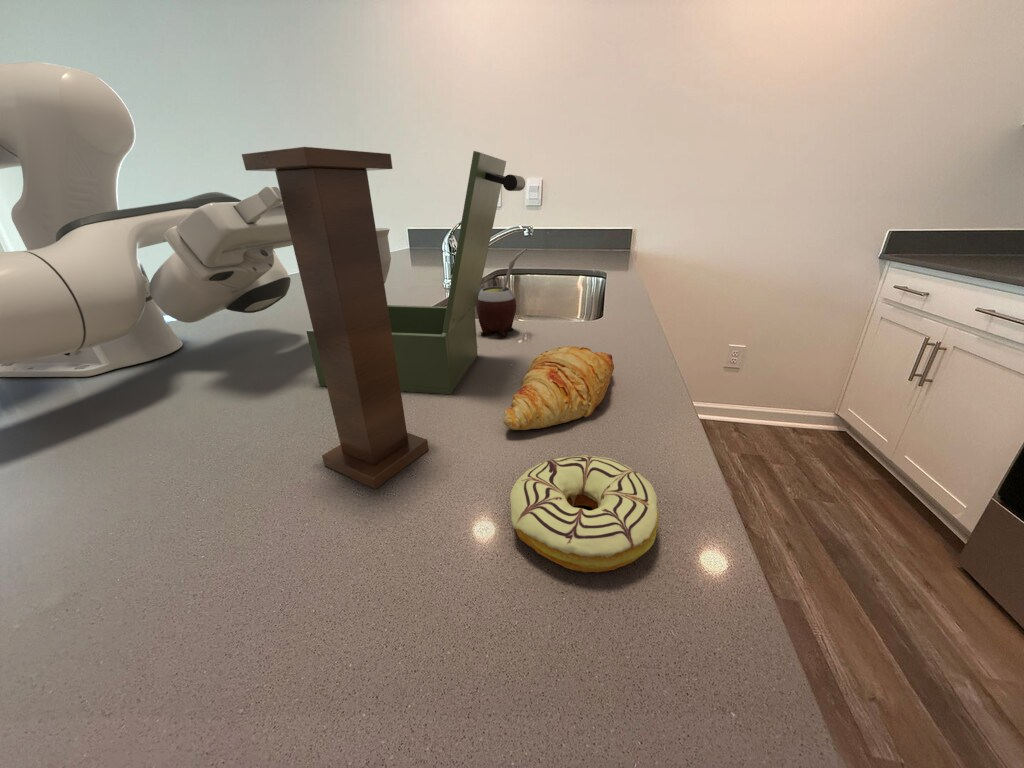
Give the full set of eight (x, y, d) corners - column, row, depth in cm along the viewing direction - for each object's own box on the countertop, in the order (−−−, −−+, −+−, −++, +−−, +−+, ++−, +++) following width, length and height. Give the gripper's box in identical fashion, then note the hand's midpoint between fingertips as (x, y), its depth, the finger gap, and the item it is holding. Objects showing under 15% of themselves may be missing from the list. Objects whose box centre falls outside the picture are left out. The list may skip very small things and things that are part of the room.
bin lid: (473, 150, 40) (515, 161, 39) (501, 159, 52) (533, 168, 51) (442, 332, 48) (476, 342, 48) (472, 304, 61) (499, 312, 60)
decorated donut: (532, 471, 37) (532, 436, 36) (655, 494, 34) (661, 457, 33) (491, 559, 28) (489, 518, 27) (652, 602, 25) (661, 558, 24)
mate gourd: (473, 330, 76) (467, 246, 69) (511, 324, 79) (509, 243, 72) (487, 342, 70) (482, 251, 63) (528, 335, 72) (528, 247, 66)
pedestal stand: (324, 465, 39) (241, 153, 28) (380, 431, 44) (329, 159, 33) (375, 489, 35) (304, 146, 24) (429, 449, 41) (390, 153, 30)
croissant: (529, 475, 42) (561, 429, 37) (465, 410, 45) (486, 359, 40) (621, 396, 57) (653, 355, 51) (567, 352, 60) (592, 308, 54)
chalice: (398, 338, 72) (382, 231, 65) (360, 339, 73) (340, 232, 65) (408, 326, 79) (394, 227, 71) (373, 326, 79) (356, 228, 72)
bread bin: (319, 386, 55) (305, 331, 52) (368, 350, 67) (360, 304, 64) (450, 394, 52) (445, 336, 49) (477, 356, 64) (474, 307, 61)
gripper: (299, 258, 66) (359, 211, 61) (189, 284, 48) (262, 220, 43) (272, 222, 65) (332, 171, 60) (148, 235, 46) (220, 163, 41)
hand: (302, 191), depth 51 cm, fingers open, 8 cm apart
